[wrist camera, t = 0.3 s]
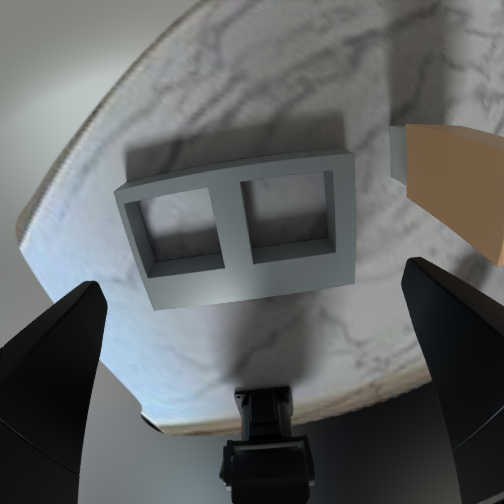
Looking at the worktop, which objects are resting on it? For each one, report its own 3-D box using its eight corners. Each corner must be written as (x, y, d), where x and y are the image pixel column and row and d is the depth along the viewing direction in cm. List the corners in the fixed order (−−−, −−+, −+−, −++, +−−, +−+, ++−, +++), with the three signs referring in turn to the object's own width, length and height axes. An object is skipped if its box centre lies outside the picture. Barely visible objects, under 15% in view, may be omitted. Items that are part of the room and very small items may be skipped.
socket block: (345, 267, 25) (354, 283, 22) (160, 292, 25) (153, 310, 23) (341, 147, 20) (353, 153, 18) (126, 182, 21) (113, 191, 18)
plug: (435, 179, 21) (549, 251, 9) (385, 183, 21) (496, 267, 10) (435, 120, 19) (564, 159, 7) (383, 119, 19) (514, 153, 7)
